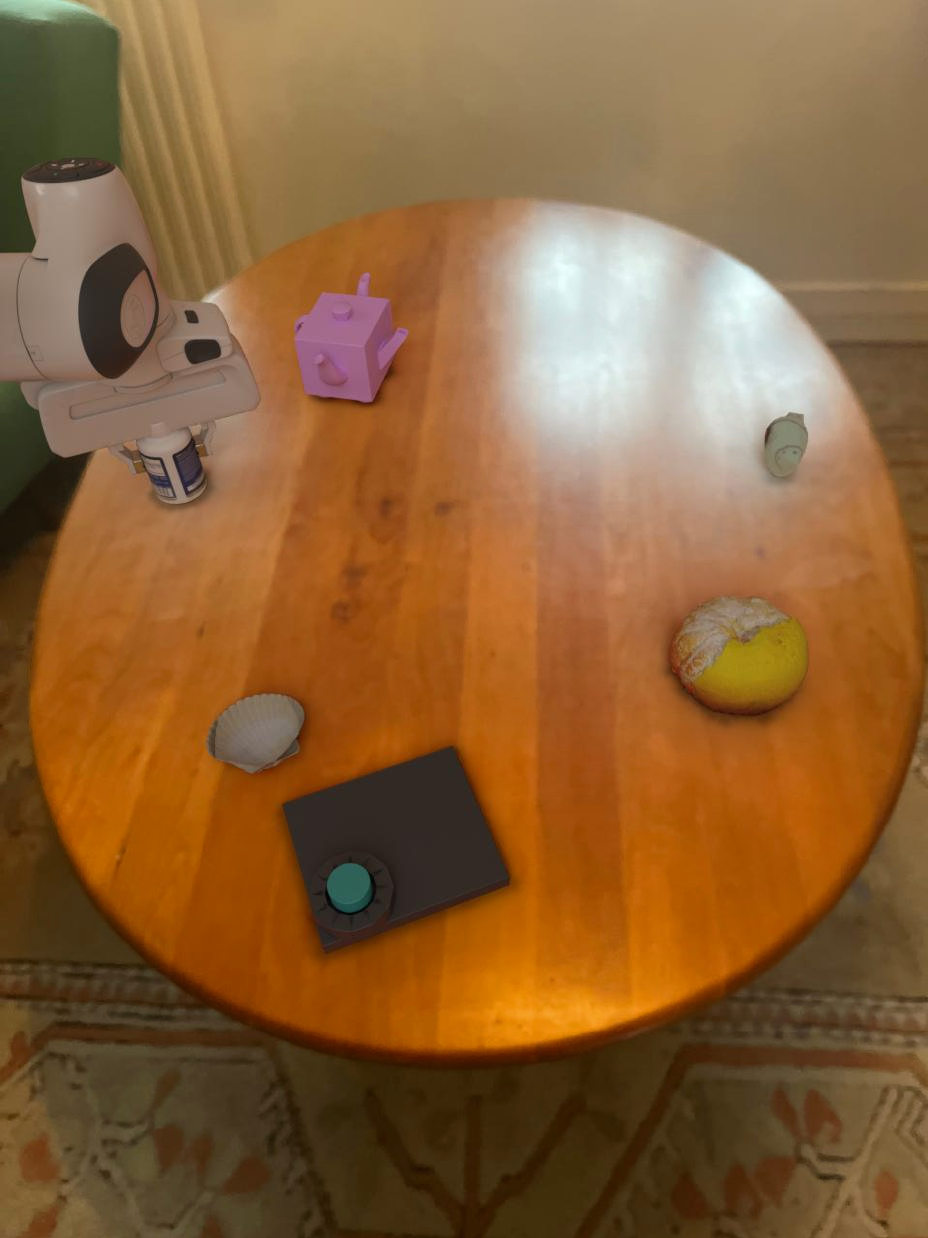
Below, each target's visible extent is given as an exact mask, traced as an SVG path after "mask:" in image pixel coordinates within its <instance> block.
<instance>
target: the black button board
mask: <svg viewBox="0 0 928 1238" xmlns="http://www.w3.org/2000/svg"><path fill="white" fill-rule="evenodd" d="M281 806H282V808H283V812H284V816H285V819H286V823H287V827H288V830H289V834H290V837H291V840H292V845H293V847H294V848H293V849H294V852H295V855H296V858H297V862H298V866H299V870H300V873H301V876H302V881H303V884H304V887H305V890H306V894H307V899H308V903H309V906H310V909H311V914H312V916H313V919H314V923H315V926H316V930H317V933H318V937H319V940H320V944H321V947H322V950H323V952H324V954H325V955H326V954H329V953H332V952H335V951H337V950H341V949H344V948H346V947H348V946H351V945H353V944H356V943H359V942H361V941H364V940H366V939H367V940H368V939H370V938H372V937H375V936H377V935H380V934H383V933H385V932H388V931H390V930H393V929H397V928H399V927H402V926H405V925H406V924H409V923H412V922H415V921H417V920H420V919H423V918H426V917H428V916H430V915H433V914H436V913H439V912H441V911H445V910H446V909H449V908H452V907H455V906H458V905H460V904H464V903H465V902H468V901H471V900H473V899H476V898H478V897H479V898H480V897H481V896H484V895H486V894H490V893H492V892H494V891H495V892H496V891H498V890H500V889H502V888H505V887H508V886H510V885H511V884H510V883H511V882H510V874H509V872H508V870H507V868H506V865H505V863H504V860H503V858H502V855H501V854H500V851H499V849H498V846H497V844H496V841H495V840H494V837H493V836H492V835H493V834H492V832H491V830H490V828H489V826H488V824H487V822H486V819H485V817H484V814H483V812H482V809H481V807H480V806H479V803H478V801H477V798H476V796H475V794H474V791H473V789H472V786H471V784H470V782H469V780H468V778H467V776H466V773H465V771H464V769H463V766H462V764H461V761H460V759H459V757H458V755H457V753H456V750H455V748H454V746H453V745H450V746H447V747H445V748H441V749H439V750H435V751H433V752H431V753H427V754H424V755H421V756H419V757H415V758H413V759H410V760H407V761H404V762H400V763H398V764H396V765H391V766H389V767H386V768H383V769H380V770H377V771H374V772H371V773H369V774H368V773H367V774H365V775H363V776H359V777H356V778H354V779H350V780H347V781H344V782H342V783H339V784H336V785H333V786H330V787H327V788H324V789H321V790H319V791H318V790H317V791H316V792H313V793H309V794H307V795H304V796H300V797H298V798H295V799H292V800H289V801H286V802H283V803H282V804H281ZM347 863H355V864H358V865H360V866H362V867H364V868H365V869H366V871H367V872H368V874H369V876H370V880H371V884H372V888H373V893H372V897H371V899H370V901H369V903H368V904H367V905H366V906H365V907H364V908H363V909H361V910H359V911H356V912H352V913H347V912H343V911H340V910H338V909H337V908H336V907H335V906H334V905H333V903H332V901H331V899H330V896H329V893H328V890H327V881H328V878H329V876H330V874H331V873H332V872H333V870H334V869H336V868H337V867H339V866H340V865H343V864H347Z"/></svg>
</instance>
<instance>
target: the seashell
mask: <svg viewBox="0 0 928 1238" xmlns="http://www.w3.org/2000/svg"><path fill="white" fill-rule="evenodd" d="M305 721H306V712H305V710H304V707H303V705H302V704H301V703H300V702H299V701H298V699H295V698H294V697H293V696H289V695H288V694H282V693H274V692H271V693H265V692H263V693H260V694H259V693H256V694H253V695H252V696H246V697H243V699H239V700H237V701H236V702H235V703H232V704H231V705H229V706H228V708H225V709H224V710H222V712H221V714H219V715H218V716H217V717H216V718H215V720H214V721H213V722H212V723H211V726H210V728H209V729H208V731H207V734H206V739H205V744H206V745H205V748H206V751H207V753H208V755H209V756H211V757H212V758H214V759H215V760H217V761H220V762H223V763H227V764H231V765H234V766H235V767H237V768H239V769H241V770H244V772H247V773H248V774H257V773H259V772H261V771H263V770H268V769H273V768H276V767H278V766H279V765H280V764H281V763H283V762H284V760H285V759H287V758H290V757H291V756H294V755H296V754H298V753H299V752H300V750H301V748H300V745H301V744H300V742H299V741H298V739H299V736H300V733H301V731H302V728H303V725H304V723H305Z"/></svg>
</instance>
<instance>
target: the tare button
mask: <svg viewBox="0 0 928 1238" xmlns="http://www.w3.org/2000/svg"><path fill="white" fill-rule="evenodd" d="M327 890H328V893H329V896H330V899H331V901H332V903H333V905H334V906H335V907H336V908H337V909H338V910H340V911H343V912H347V913H352V912H356V911H359V910H361V909H363V908H364V907H365V906H366V905H367V904H368V903H369V901H370V899H371V897H372V893H373V888H372V884H371V880H370V876H369V874H368V872H367V871H366V869H365V868H364V867H362V866H360V865H358V864H355V863H347V864H343V865H340V866H339V867H337V868H336V869H334V870H333V872H332V873H331V874H330V876H329V878H328V881H327Z"/></svg>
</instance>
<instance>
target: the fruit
mask: <svg viewBox="0 0 928 1238" xmlns="http://www.w3.org/2000/svg"><path fill="white" fill-rule="evenodd" d="M670 642H671V643H670V645H669V662H670V670H671V672H672V673H675V674H676V676H678V678H679V680H680V682H681V684H682V685H683V691H685V692H686V693H687V694H690V695H691V696H693V697H694V699H695V700H696V701H697V702H698V703H700V704H701V705H703V707H705V708H707V709H709V710H711V711H712V712H713V713H714V712H717V713H723V714H724V713H725V714H729V715H730V716H735V715H741V716H743V717H745V716H748V717H749V716H750V717H752V716H761V715H764V714H766V713H770V712H772V711H773V710H776V709H777V708H778V707H780V706H781V705H782V704H784V703H785V702H786V701H788V700H789V699H790V698H792V697H793V696H794V695H795V694H796V693H797V692H798V690H799V689H800V688H801V686H802V684H803V682H804V681H805V679H806V677H807V674H808V671H809V667H810V666H809V664H810V654H809V651H810V650H809V644H808V643H809V642H808V638H807V634H806V632H805V630H804V627H803V626H802V624H801V622H800V620H799V619H798V618H795V617H794V616H789V615H788V614H787V613H785V612H784V611H782V610H781V609H779V608H777V607H776V605H774V604H773V603H771V602H770V601H769V600H767V599H766V597H763V596H756V595H753V596H752V595H751V596H747V597H744V598H741V597H739V596H736V595H732V594H729V595H726V596H720V597H714V598H712V599H710V600H708V601H705V602H704V603H703V604H702V603H700V602H699V603H698V607H696V608H694V609H693V610H691V611H690V613H688V614H687V615H685V616H683V618H682V619H681V620H680V622H679V624H678V625H677V629H676V632H675V633H674V635H673V637H672V640H671V641H670Z"/></svg>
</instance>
